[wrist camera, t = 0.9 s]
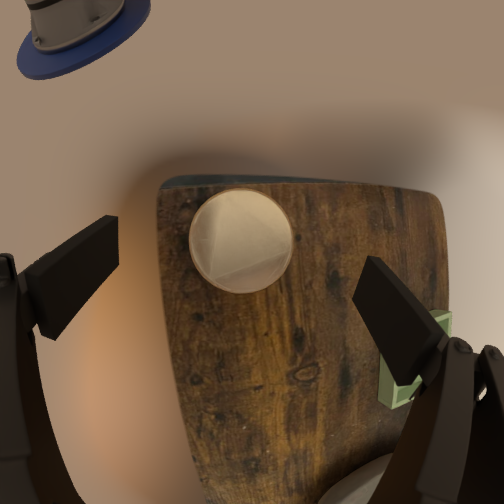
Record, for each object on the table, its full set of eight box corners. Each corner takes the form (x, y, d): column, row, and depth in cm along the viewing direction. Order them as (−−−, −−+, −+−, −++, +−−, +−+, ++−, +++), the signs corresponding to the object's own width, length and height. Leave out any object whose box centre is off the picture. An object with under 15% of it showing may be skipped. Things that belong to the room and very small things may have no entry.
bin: (380, 325, 29) (396, 330, 26) (435, 309, 31) (451, 311, 28) (377, 400, 29) (391, 409, 26) (431, 376, 31) (445, 382, 28)
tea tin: (191, 221, 26) (185, 191, 15) (254, 217, 27) (288, 186, 17) (197, 286, 26) (193, 298, 15) (260, 280, 27) (298, 287, 16)
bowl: (302, 534, 26) (317, 563, 18) (285, 471, 26) (305, 510, 18) (406, 485, 30) (429, 505, 22) (416, 409, 30) (451, 429, 22)
